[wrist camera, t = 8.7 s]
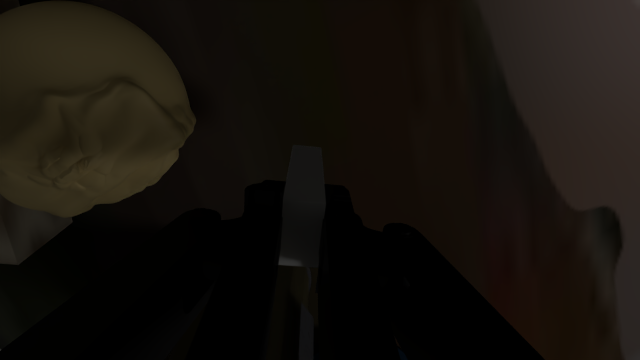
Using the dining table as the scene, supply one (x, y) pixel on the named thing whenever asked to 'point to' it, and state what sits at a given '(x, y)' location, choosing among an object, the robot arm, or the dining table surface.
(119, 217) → the dining table surface
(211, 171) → the dining table surface
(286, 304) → the canister
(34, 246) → the board
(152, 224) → the dining table surface
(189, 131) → the sculpture
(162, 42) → the dining table surface
